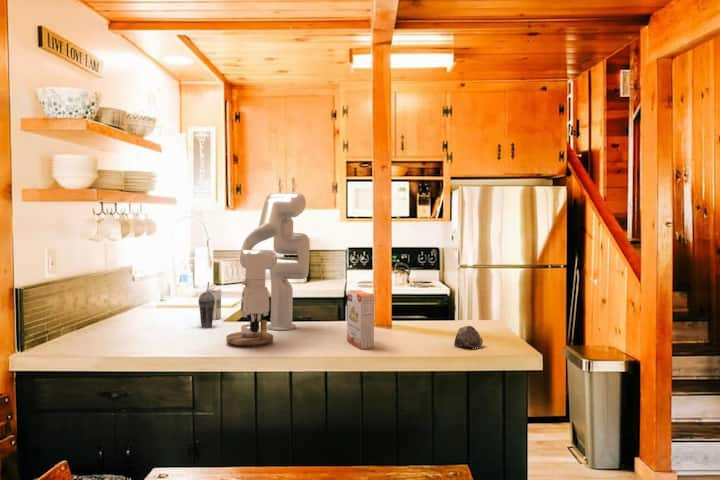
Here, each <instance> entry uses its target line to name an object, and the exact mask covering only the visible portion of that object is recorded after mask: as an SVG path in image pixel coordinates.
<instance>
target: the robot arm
mask: <svg viewBox="0 0 720 480" xmlns="http://www.w3.org/2000/svg"><path fill="white" fill-rule="evenodd" d="M306 204H307V199H306V197H305V195H304V194H303V193H299V192H296V193H295V192H293V193H292V192H275V193H270V194H268V195H267V196H266V198H265V200H264V204H263V208H262V211H261V215H260V219H259V224H258V227H256V228H255V229H254V230H253V231H251V233H249V234H248V235H247V236H246V238H245V239H244V241H243V243H242V247H241V251H240V255H239V263H240V266H241V267H242V268H244V269H245V270H244V271H245V279H244V280H242V281H241V285H243V286H244V287H243V289H242V292H241V300H240V301H241V303H240V311H241V313H240V316H241V317H242V318H246V319H248V321H249V324H250V330H251V331H252V332H258V329H259V326H260V322H261V320H262V319H263V317H266V316H269V312H270V318H269V320H270V323H267V329H269V330H272V331H288V330H289V331H291V330H294V329H296V327H297V326H296V324H295V323H293V303H294V302H293V297H294V296H293V294H294V293H293V292H294V291H293V286H292V284H291V283H290V281H289V280H304V279H306V278H307V277H308V276H309V271H310V249H311V248H310V238H309V236H308V235H307V234H306V233H304V232H303V233H302V232H300V233H299V232H294V220H293V219H292V218H296V217H299V215H301V214H302V213H304V211H305V208H306ZM272 238H273V250H274V251H272V250H269V249H267V250H266V249H253V248H254V247H255V246H257V245H258V244H259V243H262V242H263V241H267V240H269V239H272ZM276 253H277V254H280V255H297V257H289V256H288V257H287V256H277V254H276ZM266 270H269V276H270V289H271V290H270V296H269V289H268V287H267V286H266Z"/></svg>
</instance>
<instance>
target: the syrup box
mask: <svg viewBox="0 0 720 480" xmlns="http://www.w3.org/2000/svg"><path fill="white" fill-rule="evenodd" d="M205 292H207V289H205ZM208 292H210V293H212V294H213V296H214V298H215V304H214V311H213V321H216V320H219V319H221V317H222V316H221V313H222V288H218V287H209V290H208Z"/></svg>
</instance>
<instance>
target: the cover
mask: <svg viewBox="0 0 720 480" xmlns="http://www.w3.org/2000/svg"><path fill="white" fill-rule="evenodd" d="M260 327H261V325H259V329H258V332H252V331H251V330H250V323H247V324H243V325H241V329H240V330H241V331H240V332H241V337H243V338H257V337H259V336H260Z"/></svg>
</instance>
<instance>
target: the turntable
mask: <svg viewBox="0 0 720 480" xmlns="http://www.w3.org/2000/svg"><path fill="white" fill-rule="evenodd" d="M267 322H268V320H265V319H261V320H260V336H259V337H257V338H243V337H241V331H239V332H238V331H237V332H234V333H229V334H227V335H226V342H227V343H229V344H232V345H236V346H239V345H259V344H262V345H264V344H269V343H271V342H273V340H274V335H273V334H272V333H270V332H268V330H267V329H268V328H267V325H268V323H267ZM259 346H260V345H259Z"/></svg>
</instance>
